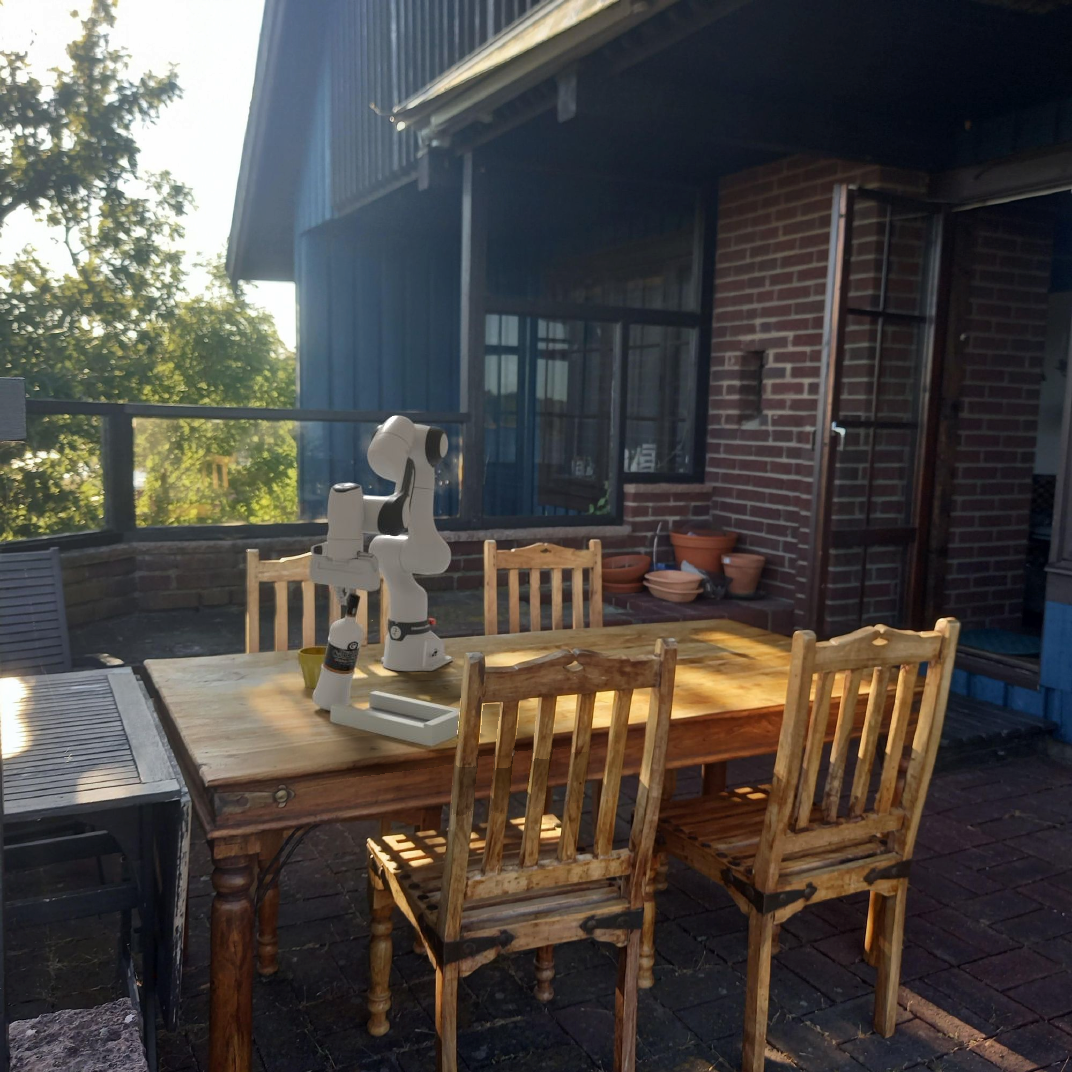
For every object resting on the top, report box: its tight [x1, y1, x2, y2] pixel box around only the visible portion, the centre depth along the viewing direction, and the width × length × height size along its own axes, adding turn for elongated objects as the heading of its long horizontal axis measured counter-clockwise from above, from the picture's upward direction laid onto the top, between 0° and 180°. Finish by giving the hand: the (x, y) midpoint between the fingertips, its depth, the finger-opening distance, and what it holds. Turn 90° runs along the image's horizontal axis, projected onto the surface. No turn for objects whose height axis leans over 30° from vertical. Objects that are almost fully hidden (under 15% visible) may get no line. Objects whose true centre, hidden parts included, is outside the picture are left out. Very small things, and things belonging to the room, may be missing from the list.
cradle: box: [329, 690, 461, 747], centre depth 251 cm, size 17×30×5 cm, turn 59°
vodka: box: [311, 593, 364, 712], centre depth 259 cm, size 9×9×30 cm
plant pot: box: [297, 645, 327, 689], centre depth 283 cm, size 10×10×10 cm
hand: (344, 604), depth 258 cm, fingers closed
